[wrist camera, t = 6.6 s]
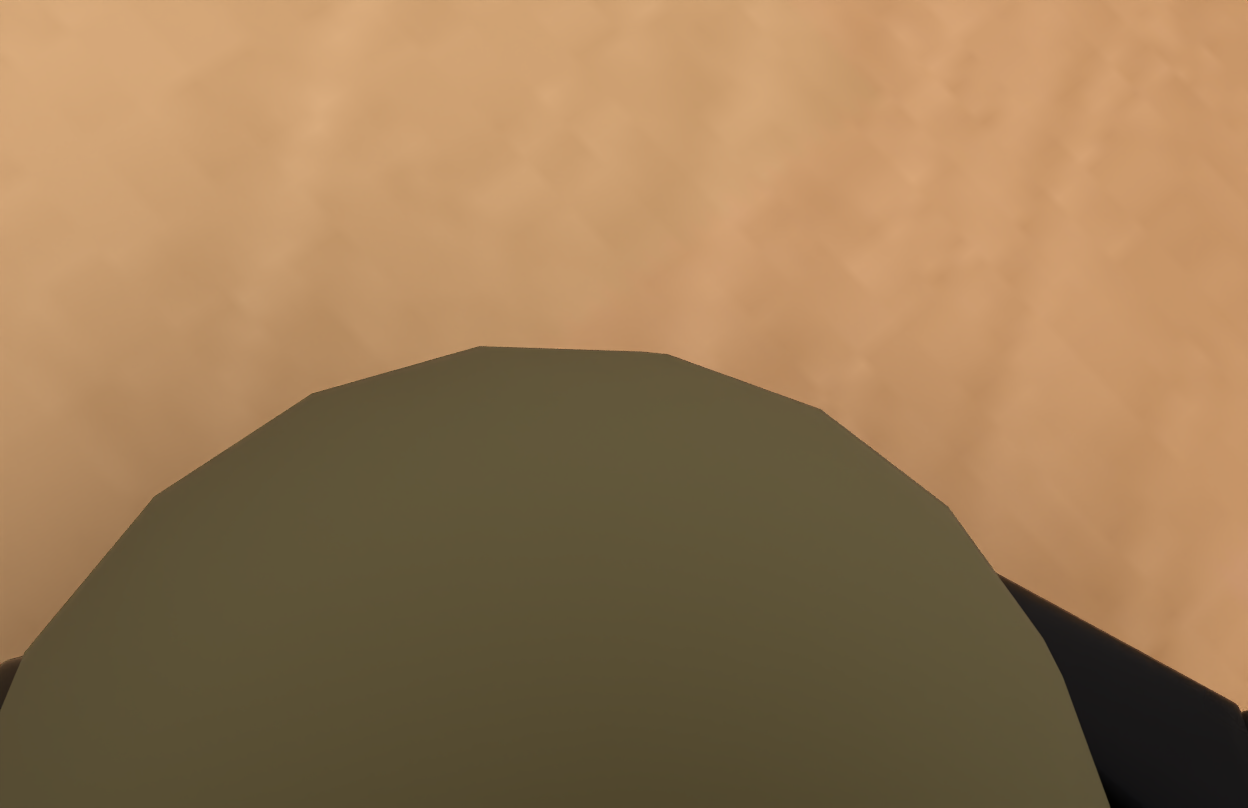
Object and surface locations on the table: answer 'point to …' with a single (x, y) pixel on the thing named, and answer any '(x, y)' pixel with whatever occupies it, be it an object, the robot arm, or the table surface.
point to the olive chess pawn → (544, 614)
